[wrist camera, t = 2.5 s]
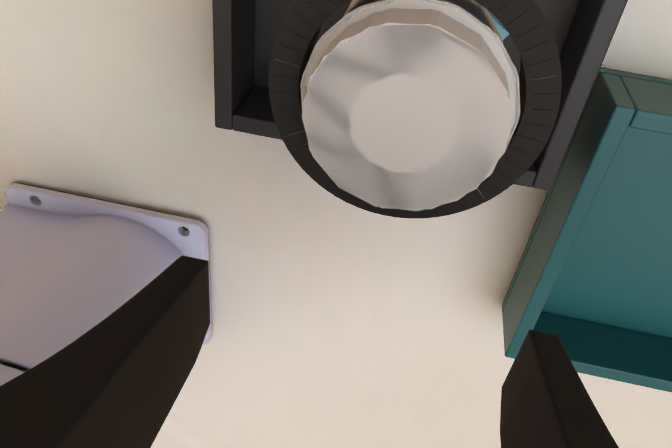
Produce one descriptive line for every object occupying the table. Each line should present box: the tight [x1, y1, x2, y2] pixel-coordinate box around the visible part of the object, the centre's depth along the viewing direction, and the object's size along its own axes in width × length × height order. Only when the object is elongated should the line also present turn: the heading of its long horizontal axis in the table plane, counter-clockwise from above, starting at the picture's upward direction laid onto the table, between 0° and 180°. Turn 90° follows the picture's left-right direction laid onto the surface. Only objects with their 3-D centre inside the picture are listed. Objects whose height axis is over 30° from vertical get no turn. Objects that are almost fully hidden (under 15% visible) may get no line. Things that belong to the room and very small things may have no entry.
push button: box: [268, 0, 562, 218], centre depth 14 cm, size 7×5×10 cm
